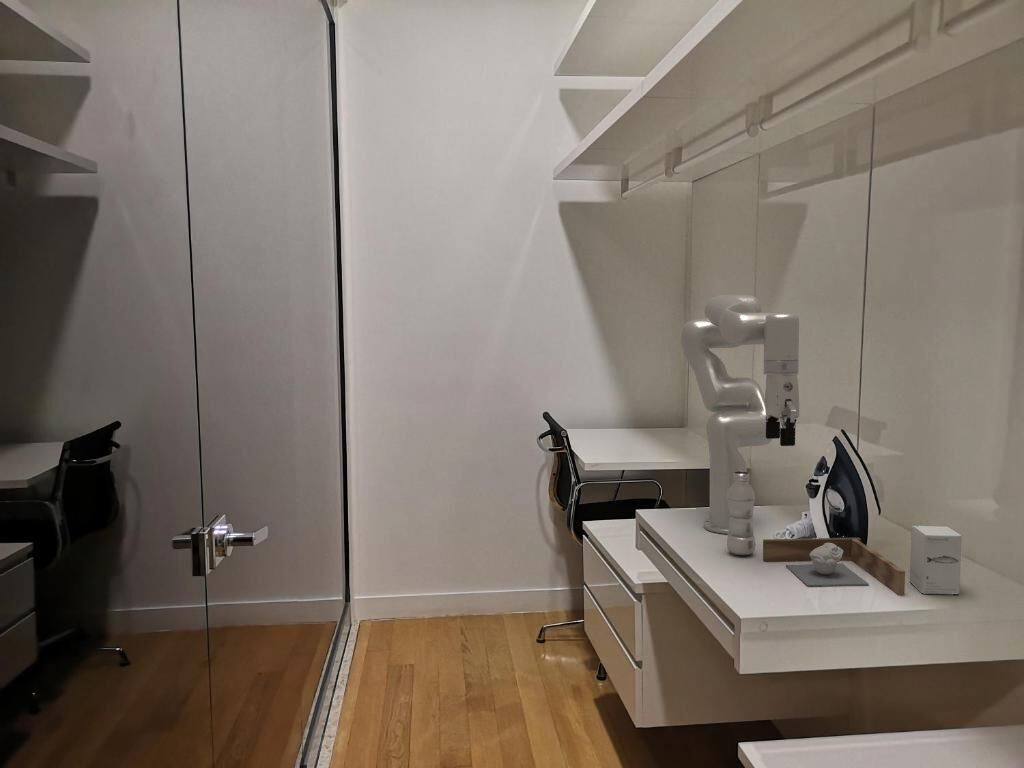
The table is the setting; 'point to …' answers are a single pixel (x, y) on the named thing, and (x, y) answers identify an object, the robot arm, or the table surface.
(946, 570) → the supplement box
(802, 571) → the slate mat
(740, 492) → the plastic bottle
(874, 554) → the corner walls
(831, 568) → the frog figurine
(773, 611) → the table surface
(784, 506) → the table surface
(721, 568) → the table surface
